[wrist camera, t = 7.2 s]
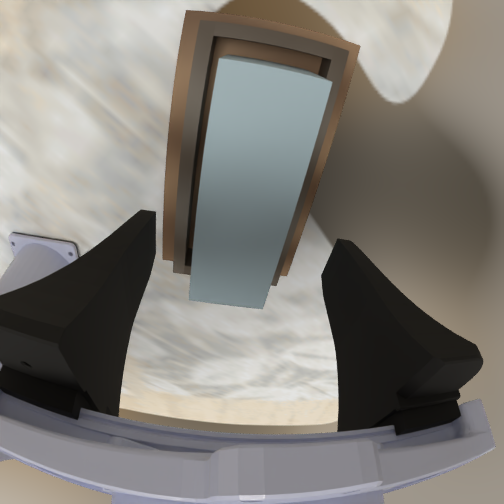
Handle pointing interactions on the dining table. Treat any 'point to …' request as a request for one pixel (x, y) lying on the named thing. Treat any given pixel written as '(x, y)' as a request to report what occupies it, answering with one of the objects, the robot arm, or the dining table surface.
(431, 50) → the dining table surface
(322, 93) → the pale blue bar
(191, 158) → the cradle
